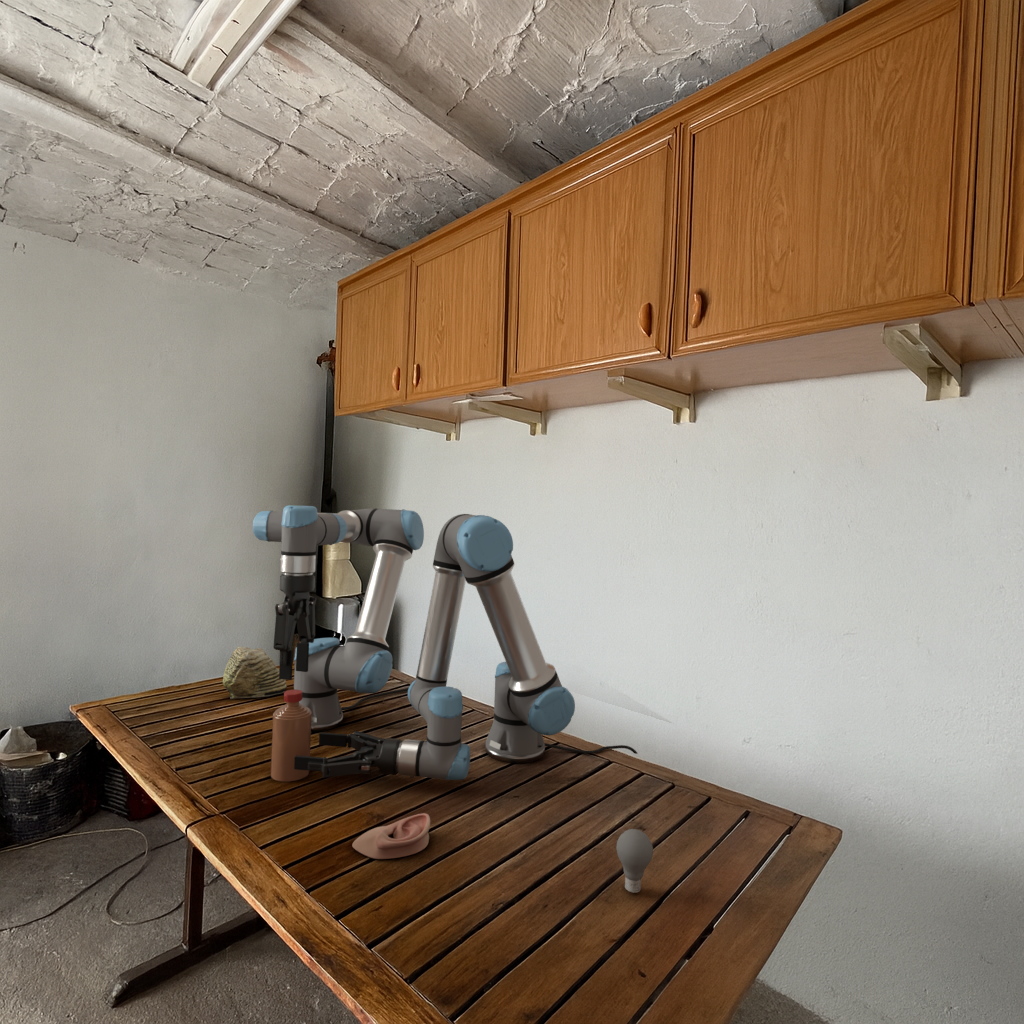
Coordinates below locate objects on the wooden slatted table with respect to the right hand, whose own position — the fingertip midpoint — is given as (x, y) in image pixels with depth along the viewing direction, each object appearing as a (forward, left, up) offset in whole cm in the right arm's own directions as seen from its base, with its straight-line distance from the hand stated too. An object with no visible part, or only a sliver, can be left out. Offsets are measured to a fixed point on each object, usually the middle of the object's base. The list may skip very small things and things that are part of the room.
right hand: (307, 749), depth 143 cm
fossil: (+14, -64, -6) cm, 65 cm away
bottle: (+3, -3, -6) cm, 8 cm away
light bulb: (-50, +57, -6) cm, 77 cm away
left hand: (+3, -3, +17) cm, 17 cm away
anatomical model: (-14, +33, -6) cm, 36 cm away
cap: (+3, -3, +12) cm, 13 cm away
